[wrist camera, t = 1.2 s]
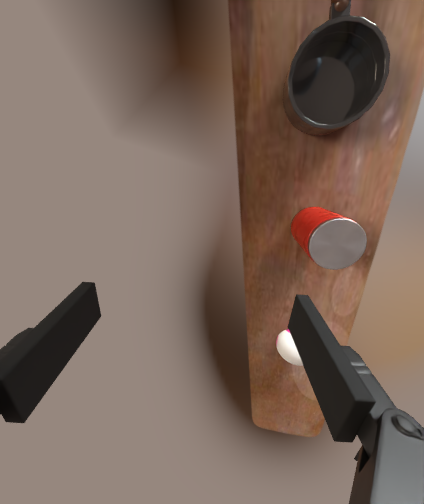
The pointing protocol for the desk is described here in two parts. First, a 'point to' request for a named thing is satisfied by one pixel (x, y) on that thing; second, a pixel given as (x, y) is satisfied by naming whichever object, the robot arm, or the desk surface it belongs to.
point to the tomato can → (328, 237)
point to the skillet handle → (339, 8)
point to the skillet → (336, 75)
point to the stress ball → (288, 348)
